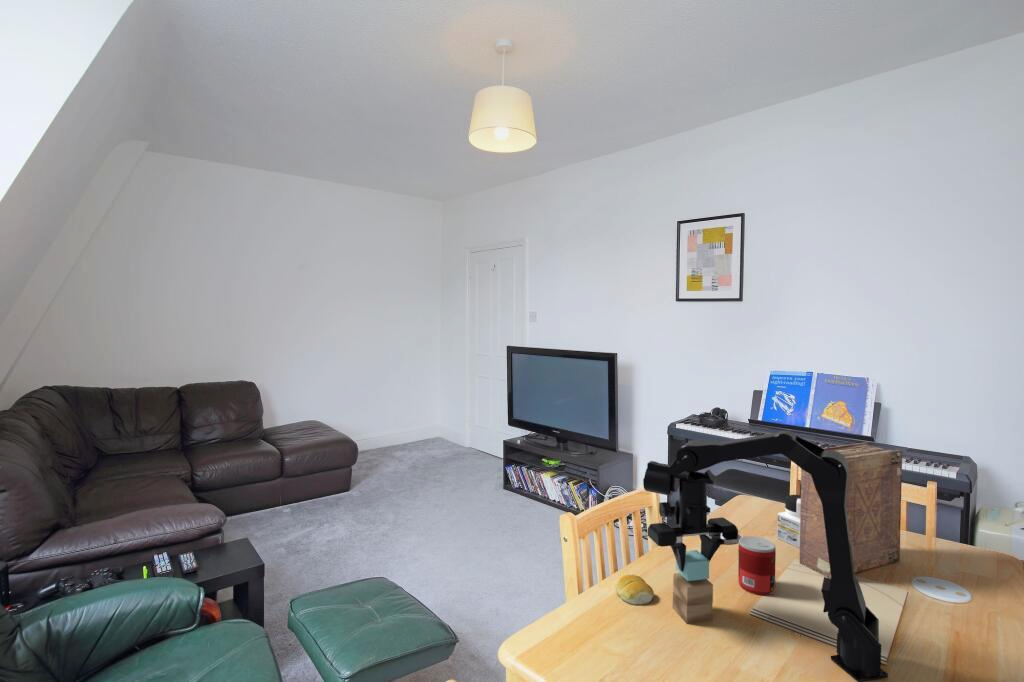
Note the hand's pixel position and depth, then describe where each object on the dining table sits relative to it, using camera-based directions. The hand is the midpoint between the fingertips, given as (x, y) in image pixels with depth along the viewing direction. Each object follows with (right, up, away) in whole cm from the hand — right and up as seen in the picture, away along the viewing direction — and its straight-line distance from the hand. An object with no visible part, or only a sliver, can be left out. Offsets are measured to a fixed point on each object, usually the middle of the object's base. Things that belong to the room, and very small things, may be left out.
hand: (692, 569), depth 112 cm
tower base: (0, -10, 0) cm, 10 cm away
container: (+43, -8, +36) cm, 57 cm away
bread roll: (-11, -10, +8) cm, 17 cm away
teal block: (0, -1, 0) cm, 1 cm away
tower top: (0, -6, 0) cm, 6 cm away
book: (+50, -9, +23) cm, 56 cm away
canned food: (+19, -10, +11) cm, 24 cm away
